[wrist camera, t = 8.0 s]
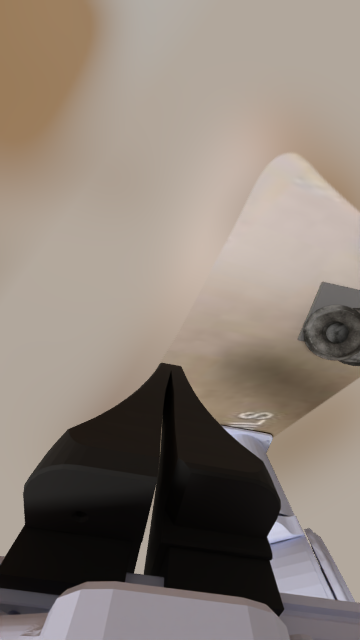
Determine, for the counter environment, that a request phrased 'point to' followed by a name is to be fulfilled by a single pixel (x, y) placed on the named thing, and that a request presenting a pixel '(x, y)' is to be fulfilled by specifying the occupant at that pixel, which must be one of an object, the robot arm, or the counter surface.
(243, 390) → the counter surface
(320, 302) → the charcoal mat
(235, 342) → the counter surface
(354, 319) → the dark grey chess piece
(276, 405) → the counter surface
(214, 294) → the counter surface
